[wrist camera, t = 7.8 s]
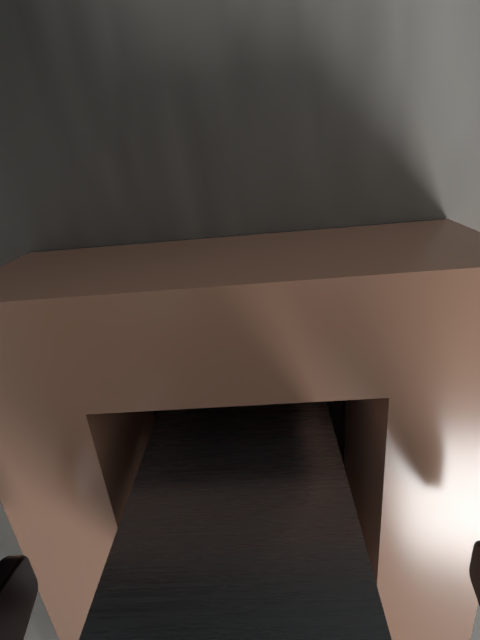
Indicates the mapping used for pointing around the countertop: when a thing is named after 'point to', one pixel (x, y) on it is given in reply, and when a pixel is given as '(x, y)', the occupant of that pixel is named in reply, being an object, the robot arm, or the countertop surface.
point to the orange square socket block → (251, 391)
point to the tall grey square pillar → (239, 534)
